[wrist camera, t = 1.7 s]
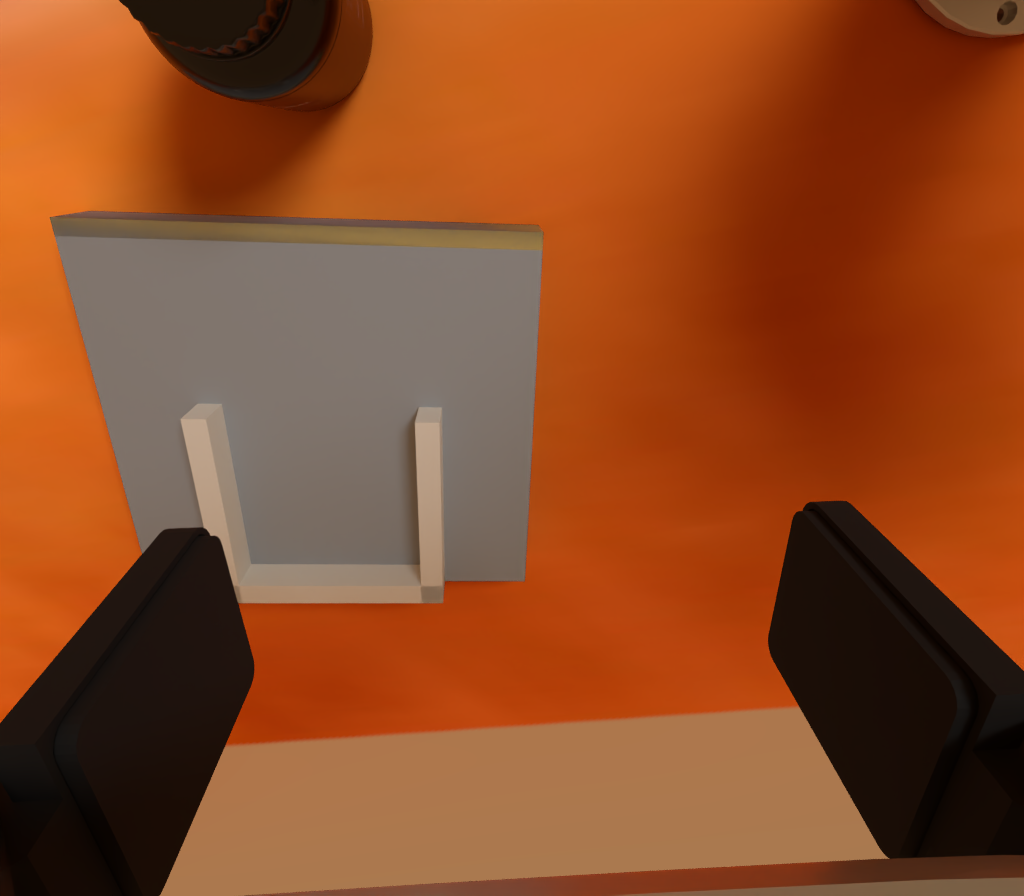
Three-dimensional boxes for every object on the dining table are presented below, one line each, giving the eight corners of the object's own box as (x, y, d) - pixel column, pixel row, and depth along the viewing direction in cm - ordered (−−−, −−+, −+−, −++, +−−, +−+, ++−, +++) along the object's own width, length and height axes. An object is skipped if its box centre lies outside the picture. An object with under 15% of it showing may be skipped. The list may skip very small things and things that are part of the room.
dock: (88, 211, 30) (19, 222, 26) (538, 225, 31) (547, 238, 27) (172, 550, 39) (132, 603, 34) (522, 551, 40) (526, 603, 36)
